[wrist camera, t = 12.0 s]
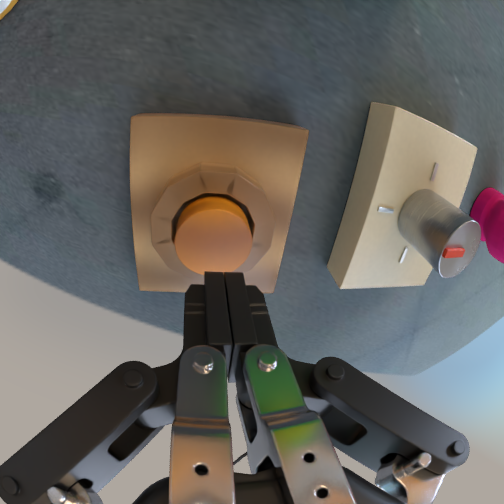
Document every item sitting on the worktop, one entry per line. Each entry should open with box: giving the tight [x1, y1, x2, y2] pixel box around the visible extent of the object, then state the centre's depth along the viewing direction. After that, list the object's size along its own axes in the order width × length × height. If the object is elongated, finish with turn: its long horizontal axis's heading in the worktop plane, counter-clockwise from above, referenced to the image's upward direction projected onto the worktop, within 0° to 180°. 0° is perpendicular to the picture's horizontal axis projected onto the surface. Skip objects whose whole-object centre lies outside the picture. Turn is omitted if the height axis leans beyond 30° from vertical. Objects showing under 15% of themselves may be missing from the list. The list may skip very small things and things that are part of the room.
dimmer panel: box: [327, 102, 477, 289], centre depth 19 cm, size 14×10×3 cm
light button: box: [174, 196, 252, 275], centre depth 15 cm, size 4×4×2 cm
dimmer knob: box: [398, 189, 481, 278], centre depth 16 cm, size 4×4×5 cm
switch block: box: [130, 113, 309, 293], centre depth 17 cm, size 12×10×4 cm
